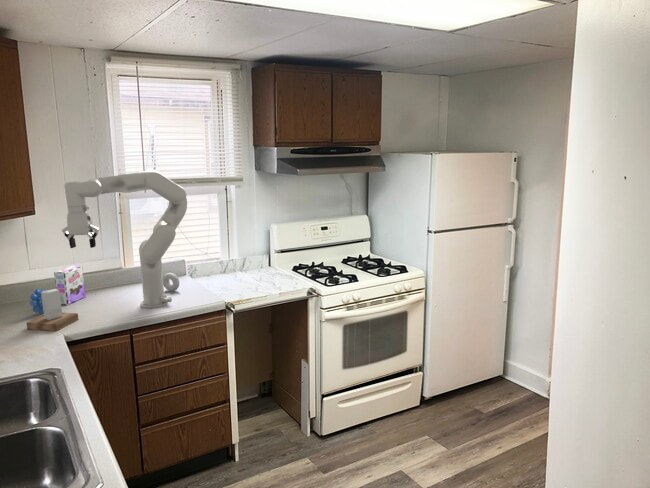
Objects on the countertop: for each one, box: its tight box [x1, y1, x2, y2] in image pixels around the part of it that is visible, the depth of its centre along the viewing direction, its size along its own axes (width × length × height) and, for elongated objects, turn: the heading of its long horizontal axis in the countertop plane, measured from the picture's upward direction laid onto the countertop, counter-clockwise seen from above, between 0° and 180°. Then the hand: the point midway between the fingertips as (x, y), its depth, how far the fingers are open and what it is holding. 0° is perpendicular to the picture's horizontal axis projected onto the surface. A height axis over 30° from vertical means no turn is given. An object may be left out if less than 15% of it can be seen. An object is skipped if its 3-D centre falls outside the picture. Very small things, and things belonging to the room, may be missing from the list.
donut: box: [163, 272, 180, 292], centre depth 271 cm, size 10×4×10 cm, turn 66°
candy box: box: [53, 265, 87, 306], centre depth 256 cm, size 14×6×16 cm, turn 168°
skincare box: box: [41, 288, 63, 320], centre depth 223 cm, size 6×4×12 cm
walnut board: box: [26, 312, 79, 332], centre depth 224 cm, size 14×14×3 cm
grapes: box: [29, 288, 46, 315], centre depth 237 cm, size 12×7×12 cm, turn 166°
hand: (83, 247), depth 234 cm, fingers open, 9 cm apart
